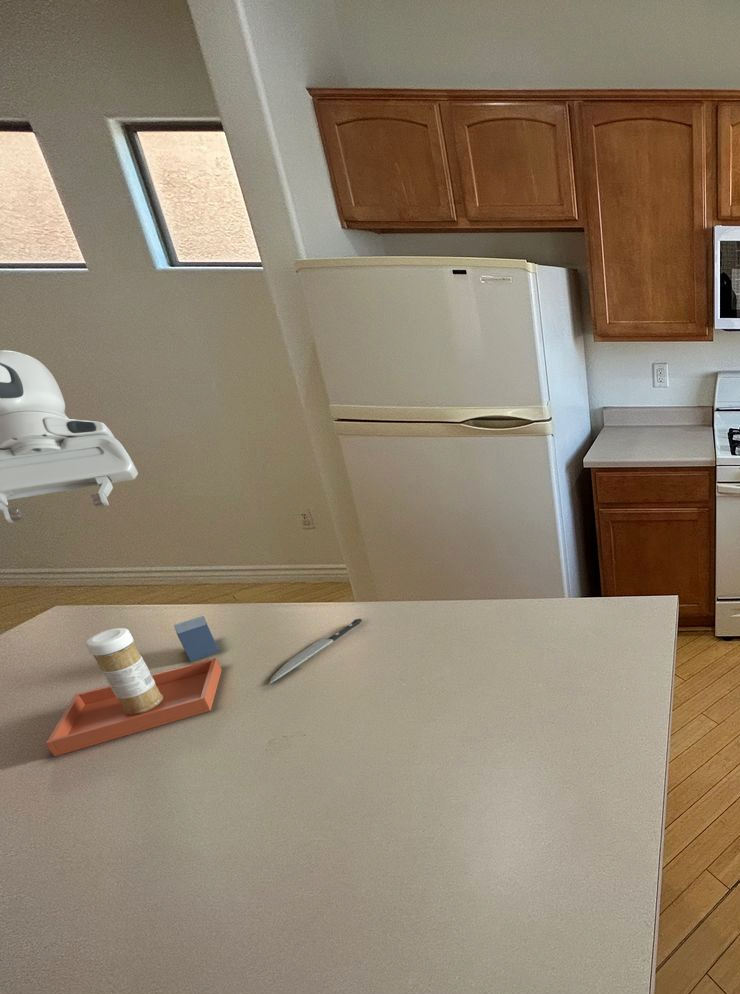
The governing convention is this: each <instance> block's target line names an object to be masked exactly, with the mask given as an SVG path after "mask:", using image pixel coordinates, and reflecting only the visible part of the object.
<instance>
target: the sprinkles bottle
mask: <svg viewBox="0 0 740 994" xmlns="http://www.w3.org/2000/svg"><path fill="white" fill-rule="evenodd" d="M85 647H86V649H87V651H88V653H89V654H90V655H91V656H93V657H94V660H95V661H96V662H97V665H98V666H99V669H100V670H101V672H102V673H103V675H104V677H105V679H106V681H107V683H108V686H109V685H110V687H111V689H112V691H113V692H114V694H115V696H116V697H117V698H118V700H119V701H120V703H121V705H122V706H123V708H124V709H123V710H124V712H125V713H126V714H130V715H133V714H140V713H143V712H146V711H148V710H150V709H153V708H154V707H156V706H157V705H159V704H160V703H161V701H162V700H163V695H162V694H160V692H159V690H158V688H157V686H156V684H155V681H154V679H153V677H152V673H151V671H150V670H149V667H148V665H147V664H146V661H145V660H144V658H143V656H142V655H141V654H140V652H139V651H138V648H137V646H136V644H135V642H134V638H133V635H132V634H131V632H130V630H129V629H128V628H125V627H117V628H111V629H106V630H103V631H101V632H99V633H97V634H94V635H93V636H91V637H89V638H88V639H87V640H86V641H85Z"/></svg>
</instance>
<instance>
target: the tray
mask: <svg viewBox="0 0 740 994" xmlns="http://www.w3.org/2000/svg"><path fill="white" fill-rule="evenodd" d="M222 670H223V669H222V666H221V664H220V662H219V660H218V658H217V657H213V658H210V659H206V660H203V661H198V662H194V663H191V664H187V665H183V666H179V667H175V668H172V669H167V670H163V671H160V672H156V673H151V675H152V677H153V679H154V681H155V684H156V686H157V688H158V690H159V692H160V694H162V695H163V700H162V701H161V703H160V704H159V705H157V706H156V707H154V708H153V709H150V710H148V711H146V712H143V713H140V714H133V715H130V714H126V713H125V712H124V710H123V709H124V708H123V706H122V705H121V703H120V701H119V700H118V698H117V697H116V696H115V694H114V692H113V691H112V689H111V687H110V685H109V684H108V685H106V686H102V687H97V688H93V689H90V690H87V691H83V692H78V693H75V694H74V695H73V697H72V699H71V700H70V702H69V704H68V705H67V707H66V708H65V710H64V712H63V714H62V715H61V716H60V719H59V720H58V722H57V724H56V725H55V727H54V728H53V730H52V731H51V733H50V735H49V737H48V739H47V741H46V742H45V745H46V746H47V748H48V750H49V751H50V752H51V754H52V755H53V757H58V756H62V755H65V754H68V753H72V752H75V751H78V750H82V749H85V748H89V747H92V746H96V745H99V744H102V743H105V742H108V741H113V740H116V739H119V738H123V737H126V736H129V735H132V734H133V735H134V734H137V733H141V732H143V731H146V730H150V729H153V728H157V727H160V726H163V725H164V726H165V725H167V724H170V723H174V722H178V721H181V720H184V719H187V718H190V717H191V718H192V717H194V716H198V715H200V714H204V713H207V712H211V711H212V706H213V703H214V701H215V696H216V693H217V689H218V685H219V682H220V677H221V675H222Z"/></svg>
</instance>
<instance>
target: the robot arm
mask: <svg viewBox="0 0 740 994" xmlns="http://www.w3.org/2000/svg"><path fill="white" fill-rule="evenodd" d="M138 475H139V471H138V469H137V466H136V465H135V463H134V461H133V460H132V457H131V456H130V455H129V453H128V452H127V450H126V449H125V447H124V446H123V444H122V443H121V441H119V440H118V439H117V438H115V435H114V433H113V432H112V431H111V429H110V428H109V427H108V426H107V425H106V424H105V422H101V421H95V420H83V419H82V420H81V419H71V418H69V417H68V416H67V415H66V402H65V399H64V396H63V393H62V391H61V388H60V386H59V384H58V382H57V380H56V378H55V377H54V375H53V374H52V372H51V371H50V370H49V369H48V367H46V366H45V364H43V363H42V362H41V361H39V360H38V359H37V358H35V357H33V356H30V355H28V354H25V353H22V352H18V351H13V350H4V349H3V350H2V349H0V512H1V513H3V517H4V519H5V520H6V521H7V522H8V523H9V524H15V523H20V522H25V518H24V514H23V512H22V510H20V509H19V508H18V507H17V506H16V507H8V506H9V501H11V500H18V499H25V498H31V497H36V496H42V495H48V494H54V493H60V492H61V493H63V492H67V491H73V490H79V489H85V488H92V487H99V489H98V490H97V493H93V494H90V498H91V499H92V503H93V505H94V506H95V508H103V507H107V506H108V507H109V506H110V504H109V503H110V502H109V501H108V498H109V495H110V493H112V491H113V489H114V487H113V484H117V483H122V482H128V481H133V480H135V479H136V478H137V477H138Z"/></svg>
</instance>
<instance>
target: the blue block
mask: <svg viewBox="0 0 740 994" xmlns="http://www.w3.org/2000/svg"><path fill="white" fill-rule="evenodd" d="M173 626H174V629H175V630H174V631H175V633H176V635H177V637H178V639H179V642H180V643H181V645H182V647H183V650H184V652H185V654H186V656H187V658H188V660H189V662H190V663H191V662H194V661H197V660H199V659H203V658H205V657H208V656H211V655H214V654H217V653H219V652H220V650H219V647H218V645H217V642H216V640H215V639H214V636H213V634H212V631H211V629H210V627H209V625H208V623H207V620H206V618H205V616H204V615H201V616H197V617H195V618H192V619H188V620H185V621H182V622H179V623H176V624H174V625H173Z"/></svg>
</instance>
